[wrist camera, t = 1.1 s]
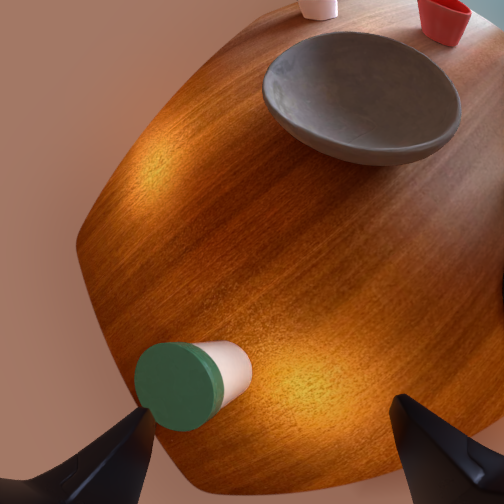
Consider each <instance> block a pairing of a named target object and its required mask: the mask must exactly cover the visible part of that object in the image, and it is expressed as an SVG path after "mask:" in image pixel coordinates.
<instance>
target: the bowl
mask: <svg viewBox="0 0 504 504" xmlns="http://www.w3.org/2000/svg"><path fill="white" fill-rule="evenodd" d="M262 93H263V99H264V101H265V104H266V106H267V107H268V110H269V112H270V113H271V114H272V116H273V117H274V118H275V119H276V120H277V122H278V123H279V124H280V125H281V126H282V127H283V128H284V129H285V130H286V131H287V132H289V133H290V134H291V135H292V136H293V137H295V138H296V139H298V140H299V141H301V142H302V143H304V144H306V145H308V146H310V147H312V148H313V149H315V150H317V151H319V152H321V153H323V154H326V155H329V156H332V157H334V158H337V159H340V160H343V161H347V162H351V163H356V164H363V165H371V166H393V165H402V164H407V163H412V162H415V161H419V160H422V159H424V158H426V157H428V156H430V155H432V154H433V153H435V152H436V151H438V150H439V149H440V148H442V147H443V146H444V145H445V144H446V143H447V142H449V141H450V140H451V138H452V137H453V136H454V134H455V133H456V131H457V129H458V127H459V124H460V121H461V102H460V97H459V95H458V92H457V90H456V88H455V86H454V84H453V83H452V81H451V80H450V79H449V77H448V76H447V75H446V74H445V73H444V71H443V70H442V69H441V68H440V67H439V66H438V65H436V64H435V63H434V62H433V61H432V60H431V59H429V58H428V57H427V56H425V55H424V54H422V53H421V52H419V51H417V50H416V49H414V48H412V47H410V46H408V45H406V44H404V43H401V42H399V41H396V40H394V39H391V38H388V37H384V36H380V35H375V34H369V33H361V32H332V33H326V34H321V35H317V36H314V37H311V38H308V39H305V40H303V41H301V42H299V43H297V44H295V45H293V46H292V47H290V48H289V49H287V50H286V51H285V52H283V53H282V54H281V55H279V56H278V57H277V58H276V59H275V60H274V61H273V62H272V63H271V64H270V66H269V67H268V69H267V72H266V74H265V76H264V79H263V85H262Z"/></svg>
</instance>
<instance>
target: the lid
mask: <svg viewBox="0 0 504 504" xmlns="http://www.w3.org/2000/svg"><path fill="white" fill-rule="evenodd" d="M134 381H135V389H136V393H137V396H138V399H139V401H140V403H141V405H142V407H145V408H149V409H150V411H151V413H152V415H153V417H154V419H155V421H156V422H157V423H158V424H160V425H162V426H163V427H165V428H168V429H171V430H174V431H190V430H194V429H196V428H198V427H200V426H201V425H203V424H204V423H206V422H207V421H209V420H210V419H211V418H213V417H214V416H215V415H216V414H217V412H218V411H219V409H220V407H221V405H222V402H223V399H224V383H223V378H222V375H221V372H220V370H219V368H218V366H217V365H216V363H215V362H214V360H213V359H212V358H211V357H210V356H209V355H208V354H207V353H206V352H205V351H203V350H202V349H201V348H199V347H197V346H195V345H193V344H190V343H186V342H168V343H159V344H156V345H153V346H151V347H150V348H148V349H147V350H146V351H145V352H144V353H143V354H142V355H141V357H140V358H139V360H138V363H137V365H136V369H135V376H134Z"/></svg>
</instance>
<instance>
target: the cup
mask: <svg viewBox="0 0 504 504" xmlns="http://www.w3.org/2000/svg"><path fill="white" fill-rule="evenodd" d="M297 1H298V4H299V6H300V9H301V11H302V14H303V17H304V18H307V19H313V20H327V19H331V18H335V17H337V0H297Z"/></svg>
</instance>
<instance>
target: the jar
mask: <svg viewBox="0 0 504 504" xmlns="http://www.w3.org/2000/svg"><path fill="white" fill-rule="evenodd" d="M190 344H193V345H195V346H197V347H199V348H201V349H202V350H203V351H205V352H206V353H207V354H208V355H209V356H210V357H211V358H212V359H213V360H214V362H215V363H216V365H217V366H218V368H219V370H220V372H221V375H222V378H223V383H224V399H223V402H222V405H221V407H220V409H222V408H223V407H225V406H226V405H228V404H229V403H231V402H232V401H233V400H235V399H236V398H238V397H239V396H240V395H242V394H243V393H244V392H245V391H246V390H247V388H248V387H249V385H250V382H251V379H252V366H251V363H250V360H249V358H248V356H247V355H246V353H245V352H244V351H243V350H242V349H241V348H240V347H239V346H237V345H236V344H234V343H232V342H229V341H225V340H215V341H207V342H197V343H190ZM220 409H219V410H220Z"/></svg>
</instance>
